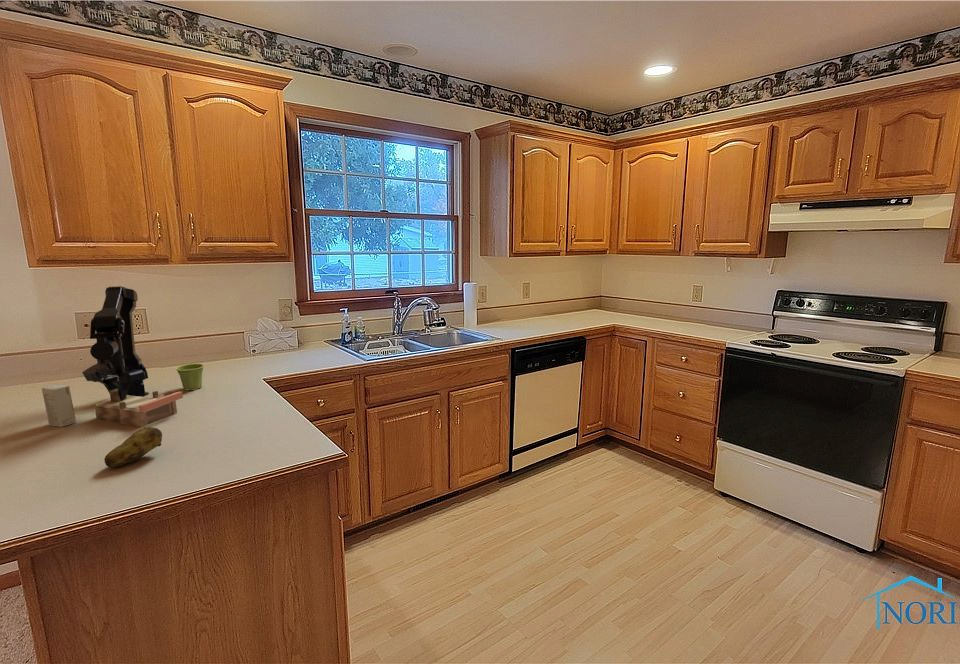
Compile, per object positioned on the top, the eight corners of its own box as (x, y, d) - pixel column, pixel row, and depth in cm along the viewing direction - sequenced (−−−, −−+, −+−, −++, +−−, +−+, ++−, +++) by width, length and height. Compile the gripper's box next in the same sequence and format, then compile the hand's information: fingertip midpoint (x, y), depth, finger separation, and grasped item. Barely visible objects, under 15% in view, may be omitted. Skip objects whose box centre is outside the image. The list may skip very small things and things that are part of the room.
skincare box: (77, 422, 150) (70, 385, 148) (61, 427, 146) (54, 389, 144) (63, 420, 152) (57, 383, 150) (47, 425, 148) (40, 387, 146)
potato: (104, 462, 123) (99, 433, 122) (162, 448, 132) (158, 421, 130) (106, 474, 117) (101, 443, 116) (167, 458, 126) (163, 430, 124)
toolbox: (92, 420, 152) (89, 399, 151) (129, 407, 164) (127, 387, 162) (142, 426, 147) (139, 405, 145) (177, 413, 158) (174, 393, 157)
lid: (96, 406, 153) (94, 393, 152) (124, 397, 161) (122, 384, 161) (143, 412, 148) (141, 398, 147) (169, 403, 156) (168, 390, 155)
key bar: (139, 411, 145) (138, 405, 144) (179, 397, 158) (178, 391, 158) (143, 412, 144) (142, 406, 144) (182, 397, 158) (182, 392, 157)
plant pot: (181, 393, 178) (178, 371, 177) (176, 387, 185) (173, 366, 184) (208, 388, 184) (206, 367, 183) (203, 383, 191) (201, 362, 190)
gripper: (63, 357, 148) (71, 404, 151) (108, 361, 143) (116, 410, 146) (99, 349, 158) (106, 394, 161) (143, 353, 153) (149, 399, 156)
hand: (118, 399), depth 156 cm, fingers closed on lid, 3 cm apart
